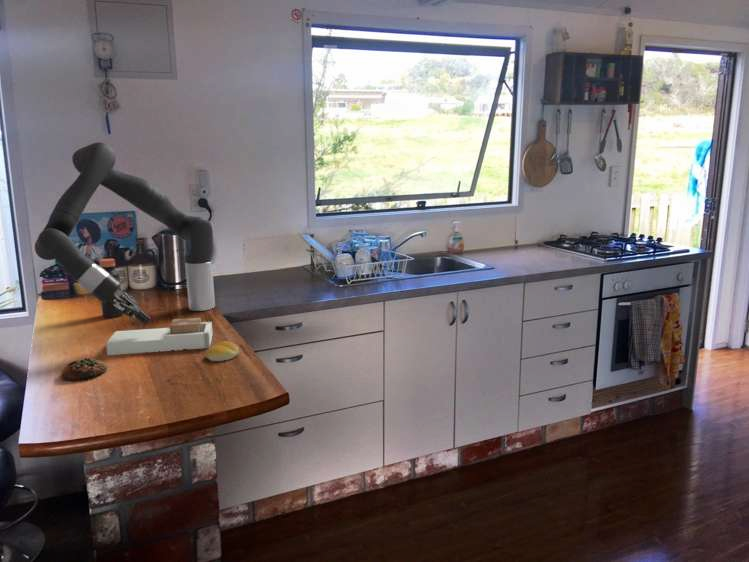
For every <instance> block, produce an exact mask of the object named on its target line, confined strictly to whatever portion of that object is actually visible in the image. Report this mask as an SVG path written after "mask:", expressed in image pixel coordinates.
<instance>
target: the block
mask: <svg viewBox="0 0 749 562" xmlns="http://www.w3.org/2000/svg"><path fill="white" fill-rule="evenodd" d="M201 322H202V318H201V317H195V318H194V317H193V318H175V319H174V318H173V319H172V321H171V323H170V325H169V328H170V330H171V334H186V333H200V332H202V329H201Z"/></svg>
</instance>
